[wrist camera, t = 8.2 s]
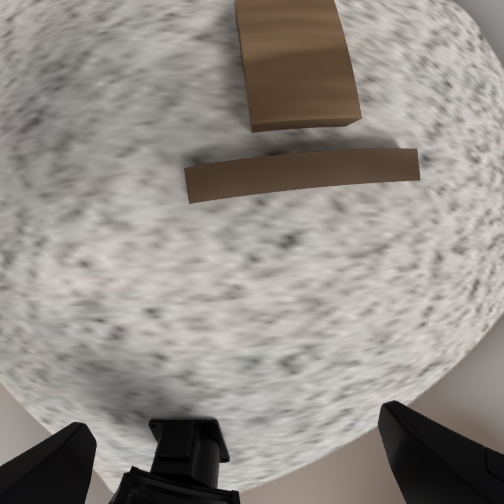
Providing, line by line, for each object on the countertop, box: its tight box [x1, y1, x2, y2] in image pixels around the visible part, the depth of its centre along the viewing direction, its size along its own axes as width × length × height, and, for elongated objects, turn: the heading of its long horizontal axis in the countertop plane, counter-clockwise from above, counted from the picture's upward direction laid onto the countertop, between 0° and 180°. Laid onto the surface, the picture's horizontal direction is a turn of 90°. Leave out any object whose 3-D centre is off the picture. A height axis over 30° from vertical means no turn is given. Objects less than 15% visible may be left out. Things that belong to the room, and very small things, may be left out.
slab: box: [234, 0, 362, 133], centre depth 14 cm, size 3×6×9 cm
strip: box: [184, 149, 420, 204], centre depth 16 cm, size 2×14×2 cm, turn 97°
